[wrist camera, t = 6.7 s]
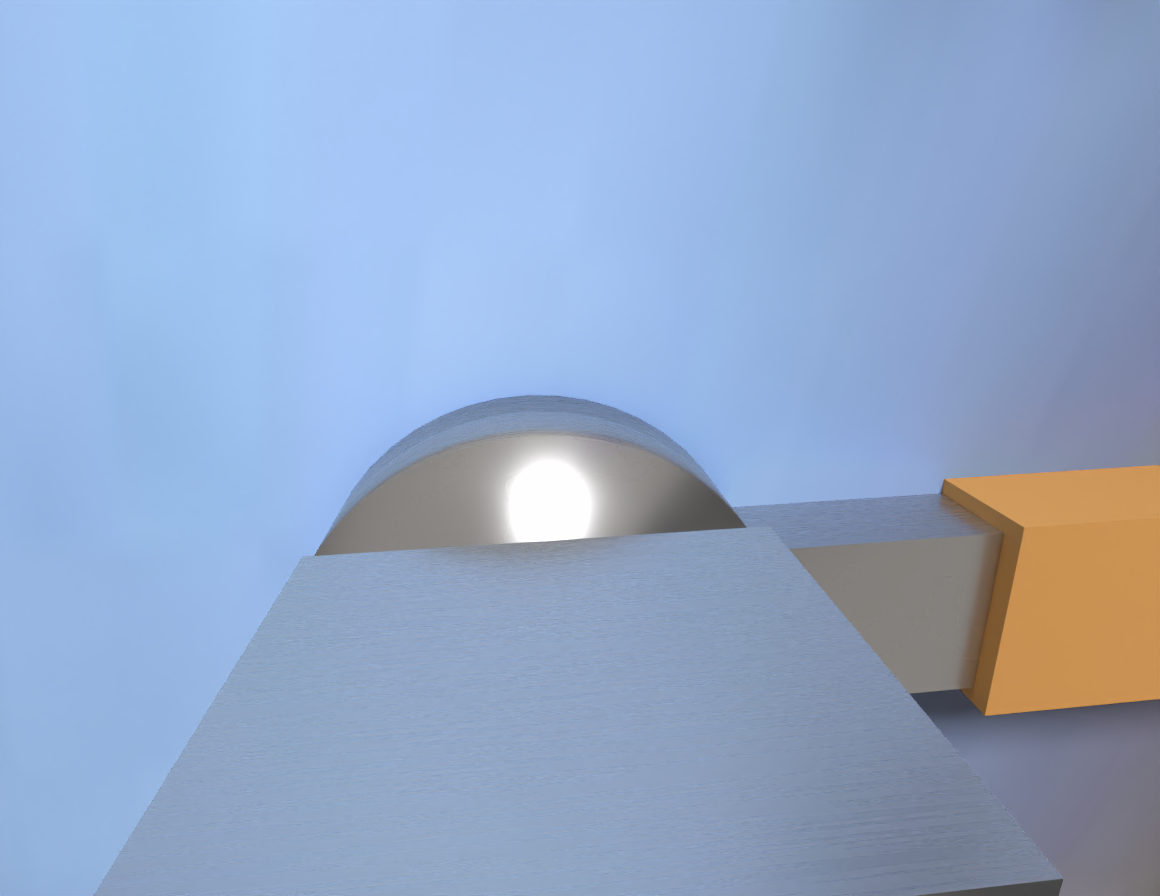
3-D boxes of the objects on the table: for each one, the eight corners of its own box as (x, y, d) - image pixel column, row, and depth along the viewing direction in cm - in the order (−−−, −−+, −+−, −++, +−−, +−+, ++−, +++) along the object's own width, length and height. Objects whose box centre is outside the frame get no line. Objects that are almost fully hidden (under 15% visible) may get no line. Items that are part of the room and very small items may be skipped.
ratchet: (1349, 352, 13) (1886, 439, 8) (1229, 691, 16) (1575, 920, 11) (290, 406, 11) (112, 559, 6) (355, 775, 14) (266, 1094, 9)
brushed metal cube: (769, 525, 9) (1064, 878, 4) (744, 862, 11) (922, 1358, 6) (302, 557, 8) (30, 995, 4) (364, 903, 10) (241, 1478, 6)
